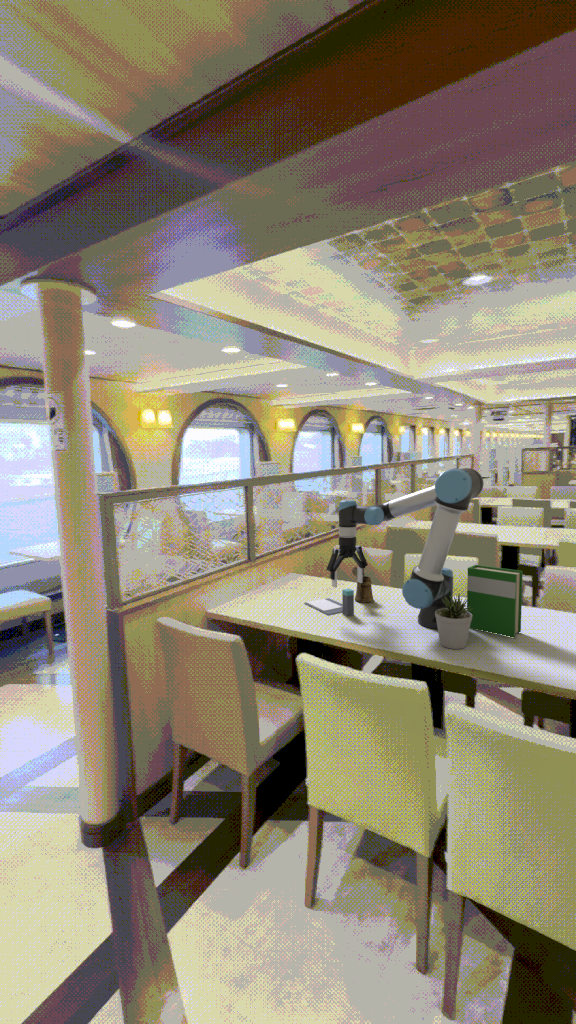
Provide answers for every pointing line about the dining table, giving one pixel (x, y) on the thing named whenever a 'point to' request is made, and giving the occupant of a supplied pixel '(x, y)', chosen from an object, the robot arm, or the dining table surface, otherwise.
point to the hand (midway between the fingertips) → (347, 584)
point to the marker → (348, 602)
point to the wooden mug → (363, 589)
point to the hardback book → (495, 599)
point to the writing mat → (326, 606)
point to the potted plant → (453, 623)
